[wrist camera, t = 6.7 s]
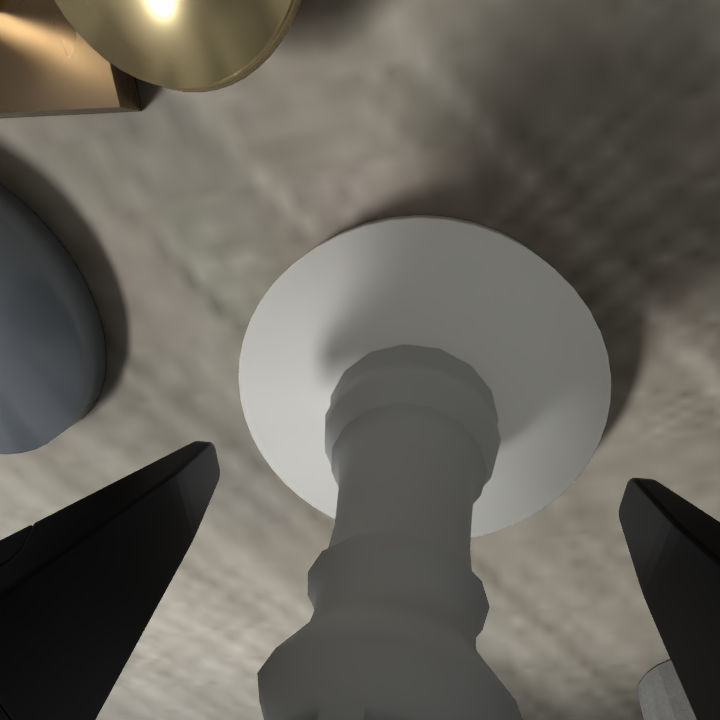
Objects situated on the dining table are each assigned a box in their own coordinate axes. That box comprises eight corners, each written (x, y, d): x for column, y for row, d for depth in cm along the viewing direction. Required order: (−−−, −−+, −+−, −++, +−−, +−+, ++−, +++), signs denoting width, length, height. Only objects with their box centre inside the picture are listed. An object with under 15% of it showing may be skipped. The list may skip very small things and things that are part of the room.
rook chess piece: (496, 331, 10) (658, 742, 3) (495, 476, 12) (593, 955, 5) (320, 341, 11) (101, 676, 4) (344, 475, 13) (228, 876, 5)
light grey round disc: (558, 527, 14) (568, 559, 13) (273, 498, 15) (261, 524, 14) (637, 213, 9) (662, 219, 8) (232, 215, 11) (210, 220, 10)
